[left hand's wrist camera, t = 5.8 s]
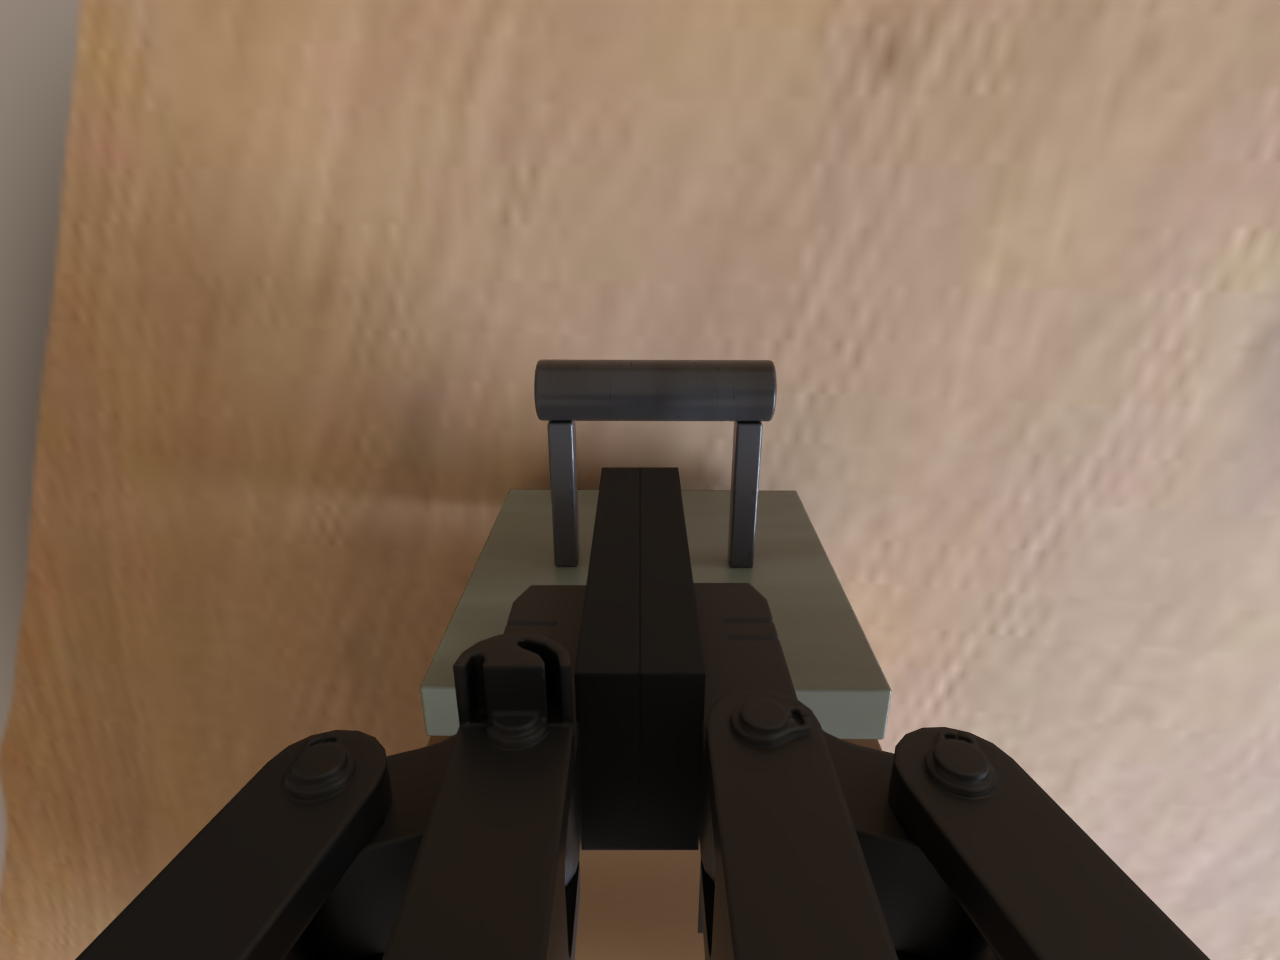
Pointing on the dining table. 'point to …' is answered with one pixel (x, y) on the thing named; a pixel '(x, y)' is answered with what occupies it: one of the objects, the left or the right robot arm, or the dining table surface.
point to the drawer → (715, 523)
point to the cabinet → (641, 901)
